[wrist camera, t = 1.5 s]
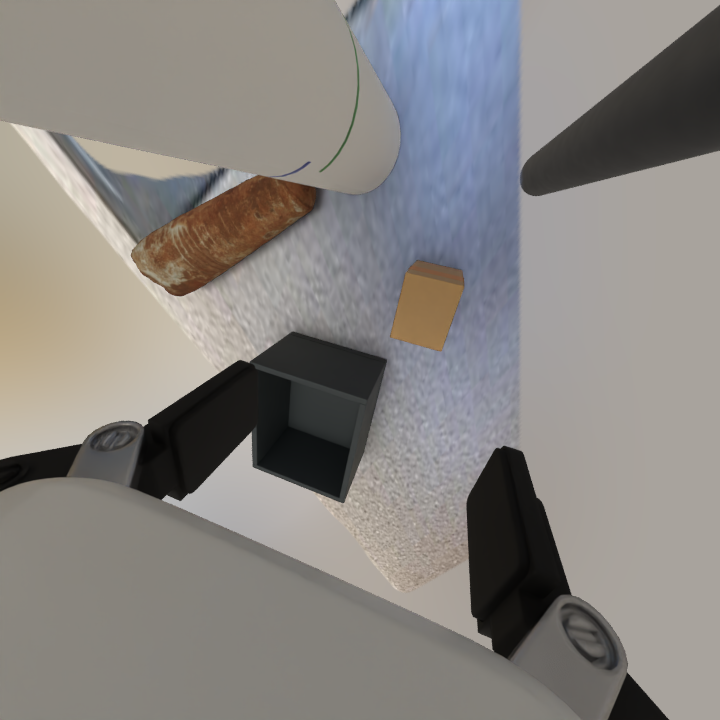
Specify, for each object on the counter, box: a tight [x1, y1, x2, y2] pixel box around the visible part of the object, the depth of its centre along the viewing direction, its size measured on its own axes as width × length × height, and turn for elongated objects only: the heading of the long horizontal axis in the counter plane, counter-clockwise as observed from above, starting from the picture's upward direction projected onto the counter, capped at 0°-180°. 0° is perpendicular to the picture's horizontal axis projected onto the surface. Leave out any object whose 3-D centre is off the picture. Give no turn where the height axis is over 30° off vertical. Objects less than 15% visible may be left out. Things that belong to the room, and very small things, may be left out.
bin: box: [250, 332, 387, 503], centre depth 31 cm, size 14×11×8 cm
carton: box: [390, 260, 464, 351], centre depth 23 cm, size 5×4×6 cm
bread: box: [131, 175, 316, 296], centre depth 26 cm, size 6×19×6 cm, turn 112°
